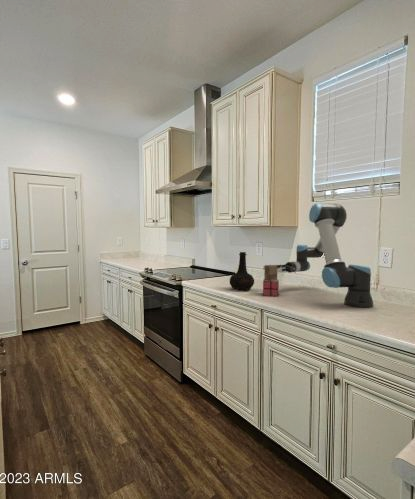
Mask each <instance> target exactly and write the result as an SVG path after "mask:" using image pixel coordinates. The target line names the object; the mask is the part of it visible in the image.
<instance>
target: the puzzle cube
mask: <svg viewBox="0 0 415 499" xmlns="http://www.w3.org/2000/svg"><path fill="white" fill-rule="evenodd" d="M262 296H263V297H279V279H278V278H277V281H267V280H264V279H263V280H262Z"/></svg>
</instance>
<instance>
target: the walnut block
mask: <svg viewBox="0 0 415 499" xmlns="http://www.w3.org/2000/svg"><path fill="white" fill-rule="evenodd" d="M276 265H277V264H265V265H264V266H265V270H264V276H263V277H264V278H263V280H267V281H277V279H278V269H277V266H276Z"/></svg>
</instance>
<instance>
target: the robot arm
mask: <svg viewBox="0 0 415 499" xmlns="http://www.w3.org/2000/svg"><path fill="white" fill-rule="evenodd" d="M347 216H348V214H347V211H346V209H345V207H344V206H342V205H341V204H339V203H314V204H313V205H312V206H311V208H310V210H309V214H308V218H309V219H308V220H309V222H310V223H314V227H315V228H317V230H318V233H319V240H318V241H317V243H316V245H315V246H314V247H309V246H308V245H307V244H297V246H296V261H287V262H286V263H285V264H275V265H276V266H277V273H284V272H287V273H289V274H290V273H295V274H296V272H299V273H301V272H306V271H310V268H311V263H310V262H309V261H308V259H309V258H312V259H313V258H314V259H315V258H319V257H321V256H322V255H323V253H324V256H325V257H324V260H325V265H323V268H322V271H321V278H322V282H323V283H324V284H325V286H327V287H329V288H333V289H338V288H347V293H346V294H345V297H344V304H345V305H346V306H349V307H354V308H366V309H367V308H368V309H369V308H373V307H374V300H373V298H372V294H371V279H372V272H371V270H372V269H371V268H370V267H369V266H365V265H364V266H363V265H357V264H348V265H346V262H345V261H342V257H341V254H340V248H339V245H338V244H339V243H338V241H337V236H336V235H337V234H338V231H339V229H340V228H342V227H344V225H345V223H346V222H347ZM319 259H320V258H319ZM262 266H263V268H262V269H263V271H265V265H262Z"/></svg>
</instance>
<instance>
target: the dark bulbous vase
mask: <svg viewBox="0 0 415 499" xmlns="http://www.w3.org/2000/svg"><path fill="white" fill-rule="evenodd" d="M246 253H247V252H246V251H239V254H238V256H239V263H238V267H237V271H236V273H233V274H231V276H230V277H229V285H230V286H231V288H232V289H233V290H236V291H240V292H241V291H243V292H246V291H249V290H251V289H252V288H253V286H254V284H255V278H254V277H253V276H254V275H252V274H250V273H248V271H247V270H248V269H247V258H246V256H247V254H246Z"/></svg>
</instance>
